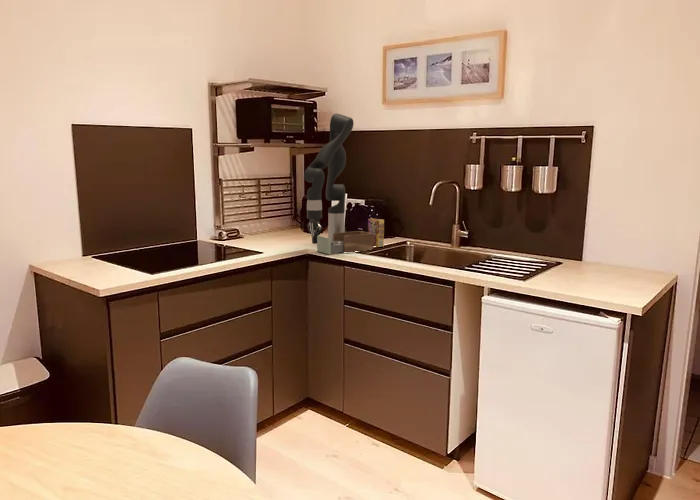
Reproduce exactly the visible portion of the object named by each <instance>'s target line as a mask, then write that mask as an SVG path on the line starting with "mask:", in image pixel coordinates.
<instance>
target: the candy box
mask: <svg viewBox="0 0 700 500" xmlns="http://www.w3.org/2000/svg"><path fill="white" fill-rule="evenodd" d="M367 233H372V234H373V246H376V247H381V246H383V247H384V242H385V241H384V240H385V239H384V237H385V236H384V235H385V219H381V218H380V219H379V218H368V219H367Z"/></svg>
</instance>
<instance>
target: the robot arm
mask: <svg viewBox="0 0 700 500" xmlns="http://www.w3.org/2000/svg"><path fill="white" fill-rule="evenodd" d="M353 129H354V119H353V118H352V117H350V116H346V115H343V114H341V113H336V112H335V113H334V114H332V116H331V118H330V120H329V142H328V143H325V145H323V146H322V147H321V149H320V150H319V151H318V154H317V155H316V156H315V159H314V160H313V161H312V162H311V163H310V164H309V165H308V166H307V168H306V169H305V170H304V174H303V175H304V176H303V177H304V181H306V182H307V183H312V185H311V187H309V188H308V189H307V192H306V194H307V195H306V197H307V198H306V199H307V201H306V219H308V223H306V226H307V231H308V234H309V235H311V242H312V244H314V245H315V244H316V245H317V236H318V235H319V236H321V233H322V231H323V225H321V222H320V221H321V219H322V218H323V201H322V191H323V187H324V184H325V179H326V178H325V172H324V170H323V169H326V168H327V179H326V186H325V199H326V200H327V201H330V202H333V201H334V202H335V201H337V202H338V203H337V204H334V205H332V206H330V207H328V208H327V209H328V210H327V212H328V213H327V214H328V215H327V216H328V220H327V221H328V225H327V238H330V239H331V243H333V233H341V232H346V227H345V225H346V224H345V223H346V218H345V215H346V213H345V212H346V211H345V209H346V207H345V206H346V205H345V204H346V187H345V185H344V184H343V183H340V184H338V183H335V181H336V179H337V177H339V176H340V175H341V173H342V172H343V170H344V169H345V167H346V163H347V162H346V161H347V153H346V150H345V148H344V146H343V143H344V142H345V140H346V139H347V138H348V137H349V135H350V134H351V132H352V131H353Z"/></svg>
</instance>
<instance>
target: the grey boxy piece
mask: <svg viewBox="0 0 700 500" xmlns="http://www.w3.org/2000/svg"><path fill="white" fill-rule="evenodd" d="M316 251H317V252H319V253H323V254H326V255H329V256H331V255H332V254H339V253H338V252H344V244H342V245H333V243H331V239H330V238H328V237H326V236H322V235H318V236H317V244H316Z"/></svg>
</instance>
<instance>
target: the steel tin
mask: <svg viewBox="0 0 700 500" xmlns="http://www.w3.org/2000/svg"><path fill="white" fill-rule="evenodd" d="M342 244H344V241H333V245H342Z"/></svg>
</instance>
